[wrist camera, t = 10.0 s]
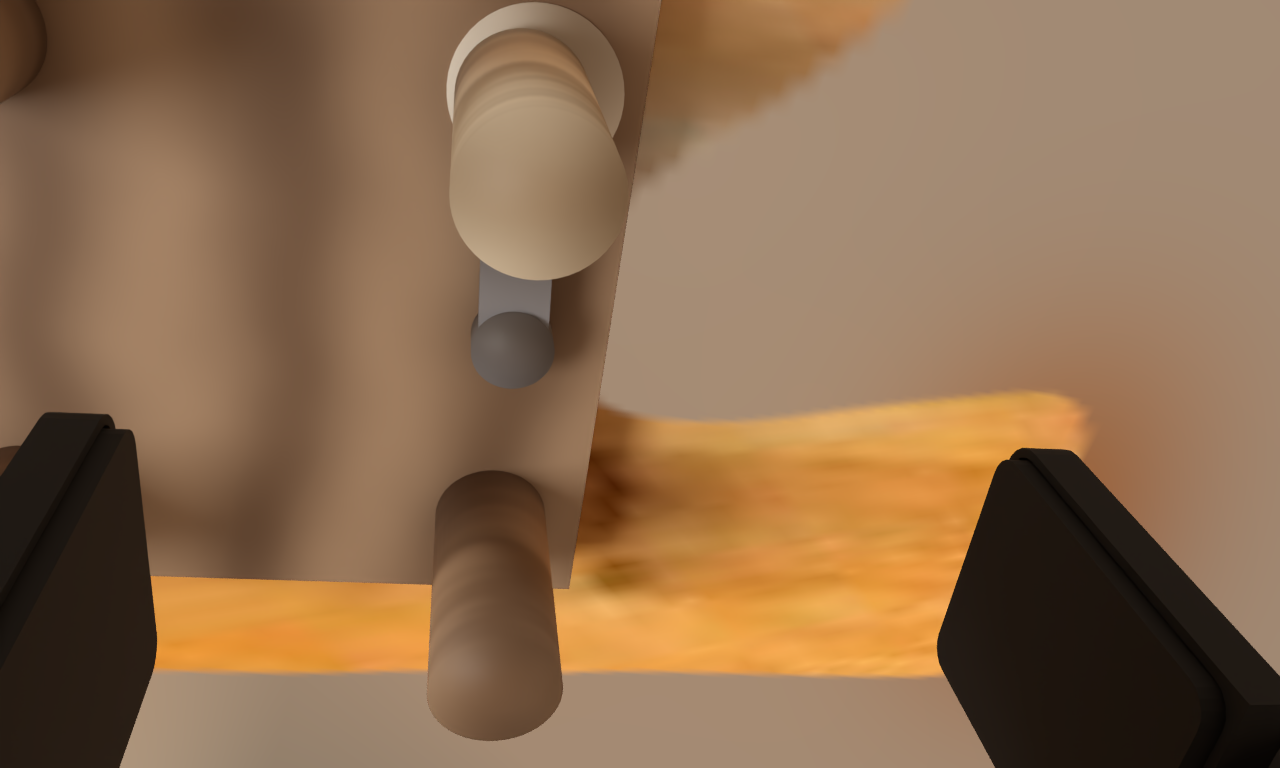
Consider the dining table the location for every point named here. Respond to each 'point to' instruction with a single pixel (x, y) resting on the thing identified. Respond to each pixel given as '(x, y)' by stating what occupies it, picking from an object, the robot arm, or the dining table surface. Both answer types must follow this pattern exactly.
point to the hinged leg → (529, 191)
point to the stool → (306, 303)
